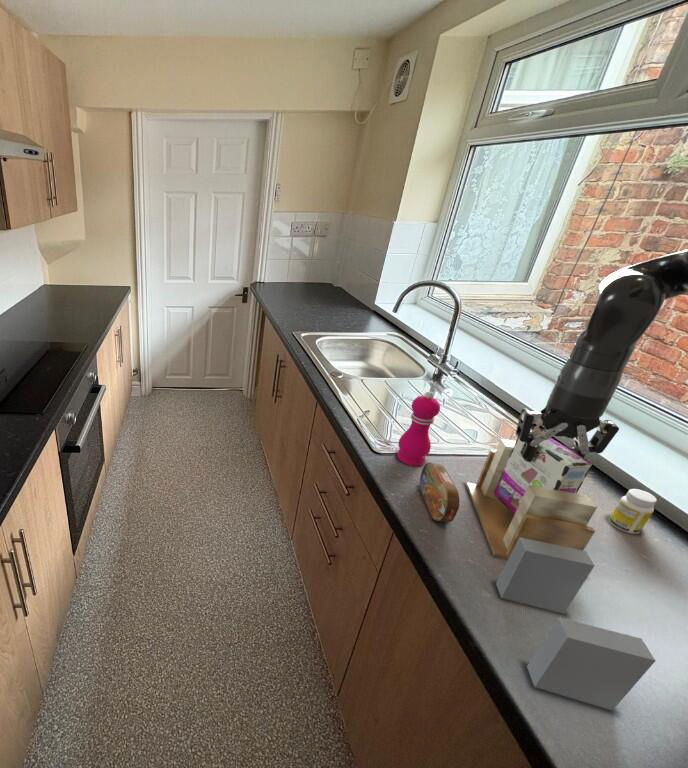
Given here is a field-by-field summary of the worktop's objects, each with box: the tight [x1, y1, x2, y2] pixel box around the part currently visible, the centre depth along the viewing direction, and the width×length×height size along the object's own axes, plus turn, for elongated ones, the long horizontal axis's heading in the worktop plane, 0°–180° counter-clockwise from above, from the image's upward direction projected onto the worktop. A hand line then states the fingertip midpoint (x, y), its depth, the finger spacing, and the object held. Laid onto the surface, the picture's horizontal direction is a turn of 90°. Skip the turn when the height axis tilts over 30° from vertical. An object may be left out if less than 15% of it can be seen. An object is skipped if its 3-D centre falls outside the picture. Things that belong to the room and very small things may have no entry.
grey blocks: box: [495, 537, 656, 711], centre depth 64 cm, size 9×18×12 cm, turn 160°
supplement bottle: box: [608, 488, 658, 534], centre depth 85 cm, size 5×5×8 cm
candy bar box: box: [494, 437, 594, 514], centre depth 82 cm, size 11×5×16 cm, turn 4°
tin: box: [419, 462, 460, 523], centre depth 91 cm, size 15×3×8 cm, turn 167°
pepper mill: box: [396, 391, 441, 467], centre depth 104 cm, size 7×7×20 cm
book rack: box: [465, 438, 598, 560], centre depth 84 cm, size 14×22×15 cm, turn 160°
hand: (547, 462), depth 80 cm, fingers closed on candy bar box, 6 cm apart
